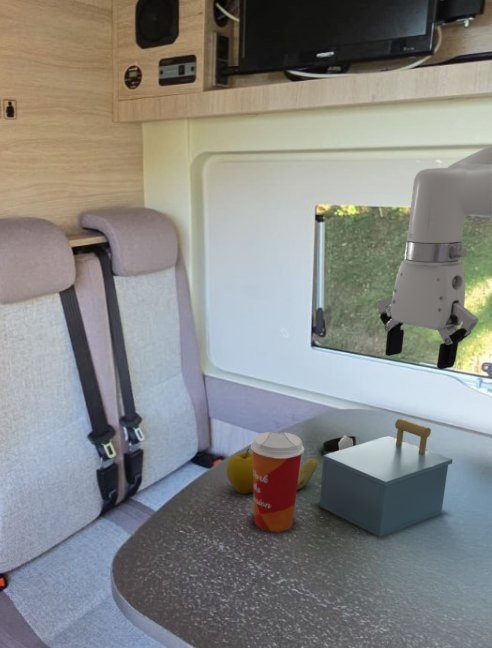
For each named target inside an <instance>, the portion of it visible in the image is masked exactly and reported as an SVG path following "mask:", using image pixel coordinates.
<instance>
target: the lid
mask: <svg viewBox="0 0 492 648" xmlns="http://www.w3.org/2000/svg"><path fill="white" fill-rule="evenodd" d="M394 426H395V428H396V429H397V431H396V432H397V433H396V438H395V437H392V436H390V435H386V436H383V437H379V438H376V439H373V440H370V441H366V442H363V443H360V444H356V445H355V446H353V447H349V448H346V449H343V450H339V451H334V452H328V453H326V454H323V458H322V460H326V461H328V462H330V463H333V464H335V465H337V466H340V467H342V468H344V469H346V470H349V471H351V472H353V473H356V474H358V475H360V476H362V477H365V478H367V479H369V480H372V481H374V482H376V483H378V484H381V485H383V486H388V485H391V484H394V483H397V482H400V481H403V480H405V479H408V478H411V477H414V476H417V475H420V474H423V473H426V472H429V471H432V470H435V469H438V468H440V467H443V466H446V465H448V466H450V465H452V464H453V458H450V457H448V456H445V455H442V454H439V453H436V452H434V451H431V450H428V449H426V448H427V441H428V438H429V437H430V436H431V433H432V430H431V428H430V427H428V426H424V425H422V424H419V423H416V422H413V421H410V420H407V419H404V418H402V417H401V418H397V420H395V424H394ZM404 432H405V433H408V434H412V435H414V436H417V437H420V440H419V446H417V445H414V444H412V443H409V442H407V441H404V440H403V439H404Z"/></svg>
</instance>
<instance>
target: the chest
mask: <svg viewBox="0 0 492 648" xmlns="http://www.w3.org/2000/svg"><path fill="white" fill-rule="evenodd" d="M448 468H449V465H446V466H443V467H440V468H438V469H435V470H432V471H429V472H426V473H423V474H420V475H417V476H414V477H411V478H408V479H405V480H403V481H400V482H397V483H394V484H391V485H388V486H383V485H381V484H378V483H376V482H374V481H372V480H369V479H367V478H365V477H362V476H360V475H358V474H356V473H353V472H351V471H349V470H346V469H344V468H342V467H340V466H337V465H335V464H333V463H330V462H328V461H326V460H324V459H322V469H321V471H322V472H321V483H320V484H321V485H320V497H319V500H320V501H319V507H320V508H323V509H324V510H325V511H326V510H327V511H328V512H330V513H332V514H334V515H336V516H338V517H340V518H342V519H344V520H346V521H348V522H350V523H352V524H353V525H356V526H357V527H360V528H361V529H363V530H365V531H367V532H369V533H371V534H373V535H375V536H376V537H379V538H380V537H383V536H385V535H388V534H391V533H393V532H396V531H398V530H401V529H404V528H406V527H409V526H412V525H414V524H417V523H419V522H422V521H424V520H425V521H426V520H427V519H430V518H432V517H435V516H437V515H441V514H442V511H443V504H444V498H445V497H444V496H445V489H446V485H447V484H446V483H447V477H448V476H447V475H448V471H449V469H448Z"/></svg>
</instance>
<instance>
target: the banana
mask: <svg viewBox="0 0 492 648" xmlns="http://www.w3.org/2000/svg"><path fill="white" fill-rule="evenodd" d="M317 468H318V459H317V458H315V457H313V458H309V459H307V460H306V461H305V463H303V464H302V466H301V467H300V470H299V477H298V485H297V491H298V490H300V489H302V488H304V487H305V486H306V485H307V483H308V482H309V481H310V479H311V478H312V476H313V475H314V474H315V472H316V471H317Z"/></svg>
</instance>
